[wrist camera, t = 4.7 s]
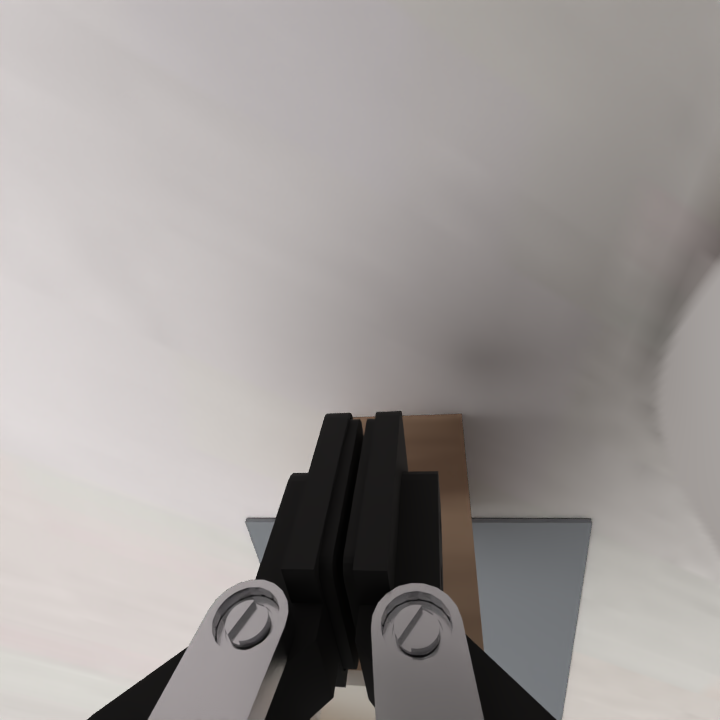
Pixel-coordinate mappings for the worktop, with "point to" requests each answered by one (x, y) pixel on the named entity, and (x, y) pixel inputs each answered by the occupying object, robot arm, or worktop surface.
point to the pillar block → (447, 456)
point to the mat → (520, 596)
